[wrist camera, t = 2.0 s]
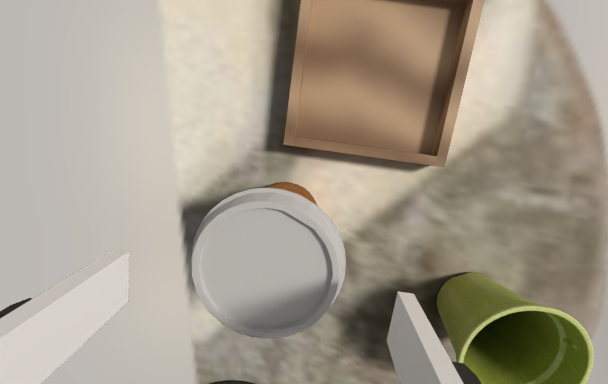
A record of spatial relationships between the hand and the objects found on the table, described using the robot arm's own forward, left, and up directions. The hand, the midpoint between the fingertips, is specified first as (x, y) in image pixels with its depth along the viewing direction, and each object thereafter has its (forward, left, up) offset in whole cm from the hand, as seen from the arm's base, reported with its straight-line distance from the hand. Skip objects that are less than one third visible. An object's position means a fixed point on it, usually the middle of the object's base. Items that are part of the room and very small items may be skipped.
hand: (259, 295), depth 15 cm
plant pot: (-6, -19, -15) cm, 25 cm away
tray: (+13, -6, -15) cm, 21 cm away
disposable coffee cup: (0, 0, -15) cm, 15 cm away
